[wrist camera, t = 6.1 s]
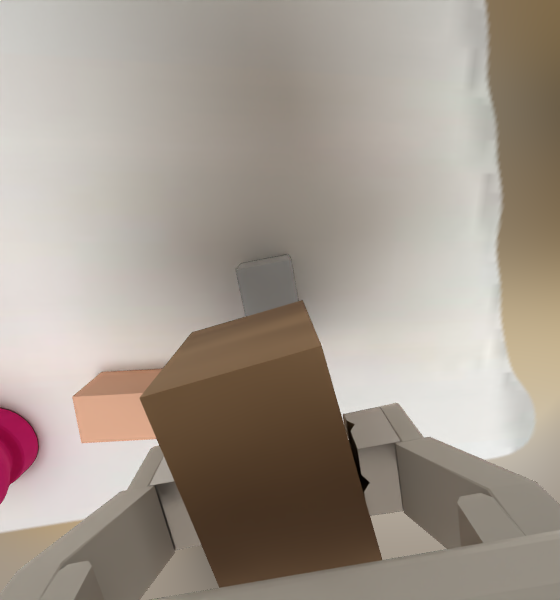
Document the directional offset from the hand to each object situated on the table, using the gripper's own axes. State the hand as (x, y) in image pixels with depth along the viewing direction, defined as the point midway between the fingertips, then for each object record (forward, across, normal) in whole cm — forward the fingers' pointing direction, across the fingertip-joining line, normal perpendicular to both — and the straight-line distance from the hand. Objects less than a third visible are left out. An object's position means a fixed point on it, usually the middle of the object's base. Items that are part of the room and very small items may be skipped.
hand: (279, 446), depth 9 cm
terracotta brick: (+16, +11, +5) cm, 20 cm away
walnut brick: (+2, 0, 0) cm, 2 cm away
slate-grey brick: (+16, 0, 0) cm, 16 cm away
